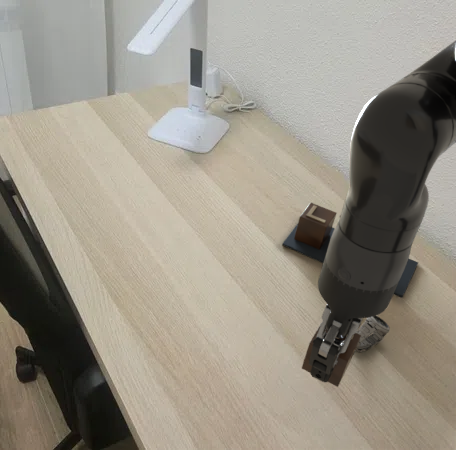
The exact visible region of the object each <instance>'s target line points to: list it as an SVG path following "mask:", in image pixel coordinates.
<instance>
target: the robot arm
mask: <svg viewBox="0 0 456 450" xmlns="http://www.w3.org/2000/svg"><path fill="white" fill-rule="evenodd" d="M455 144H456V40H454V41H453V42H451V43H450V44H448V45H447V46H446V47H445V48H443V49H442V50H440V51H439V52H437V54H435V55H434V56H432V57H430V59H428V60H427V61H425V62H424V63H422V64H421V65H420V66H418V67H417V68H415V69H414V70H412V71H411V72H410V73H408V74H407V75H405V76H404V77H402V78H400V79H399V80H397V81H396V82H394V83H393V84H391V85H390V86H388V87H386V88H384V89H382V90H381V91H379V92H378V93H376V94H375V95H374V96H373V97H371V98H370V100H368V102H366V104H365V105H364V106H363V108H362V110H361V111H360V113H359V115H358V117H357V120H356V121H355V125H354V127H353V130H352V134H351V138H350V143H349V167H348V180H349V188H348V189H347V193H346V196H345V199H344V203H343V206H342V208H341V212H340V215H339V219H338V221H337V224H336V225H335V227H334V228H335V229H334V231H333V234H332V236H331V239H330V242H329V246H328V249H327V253H326V256H325V259H324V263H322V266H321V269H320V273H319V277H318V280H317V289H318V292H319V294H320V296H321V298H322V300H323V301H324V302H325V303H326V305H325V307H324V310H323V312H322V314H321V322H322V323H320V324H321V326H320V325H319V326H320V329H319V331H318V334H317V336H316V339H314V340H313V346H312V351H311V355H310V359H309V365H311V366H312V368H311V371H310V372H309V374H310V375H311V377H312V378H314V379H317V380H318V381H320V382H323V383H329V382H328V380H329V378H330V376H331V373H332V372H333V369H334V366H335V364H336V365H337V363H338V361H337V360H338V357H339V355H340V353H344V352H345V351H346V350H347V348H348V346H349V344H350V341H351V339H352V336H353V334H355V333H356V332H357V331H358V329H359V328H360V327H361V324H362V322H363V319H367V318H369V317H374V316H379V315H381V314H382V313H384V312H385V311H386V310H387V309H388V307H389V306H390V303H391V301H392V298H393V296H394V295H395V294H394V292H395V289H396V287H397V285H398V282H399V280H400V278H401V276H402V273H403V271H404V269H405V266H406V264H407V261H408V259H410V255H411V251H412V246H413V243H414V241H415V238H416V236H417V233H418V232H419V229H420V228H421V224H422V222H423V220H424V217H425V214H426V212H427V209H428V205H429V199H430V197H429V196H430V195H429V189H428V187H427V185H426V182H427V180H428V177H429V174H430V172H431V171H432V169H433V167H434V165H435V163H436V162H437V160H438V159H439V157H441V156H442V155H443V154H444V153H446V151H448V150H449V149H450V148H451V147H452V146H454V145H455ZM326 329H327V332H328V333H326ZM346 335H347V336H346ZM336 337H337V338H339V339H343V338H345V337H346V339H345V340H344V341H342V340H339V339H337V338H336Z"/></svg>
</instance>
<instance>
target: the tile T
mask: <svg viewBox="0 0 456 450" xmlns="http://www.w3.org/2000/svg"><path fill="white" fill-rule="evenodd" d="M321 323H322V321H321ZM321 323H319V326H318V327H317V329H316V331H315V333H314V335H313V336H312V338H311V340H310V341H309V344H308V347H307V350H306V352H305V356H304V359H303V362H302V366H301V369H302V370H304V371H305V372H308V373H310V371H311V368H312V366H311V365H309V359H310V355H311V351H312V346H313V340H314V339H316V336H317V334H318V331H319V329H320V326H321ZM326 333H328V332H327V329H326ZM346 336H347V335H346ZM360 337H361V335H359V334H357V333H355V334H353V336H352V339H351V341H350V344H349V346H348V348H347V350H346V351H345V352H344V353H340V355H339V357H338V360H337V361H338V363H337V365H336V364H335V366H334V369H333V372H332V373H331V376H330V378H329V380H328V382H327V383H329V384H331V385H333V386H335V387H336V388H338V387H339V386H340V384H341V381H342V380H343V377H344V375H345V374H346V371H347V369H348V367H349V366H350V364H351V361H352V359H353V357H354V354H355V352H356V350H355V349H356V347H357V344H358V342H359V340H360ZM336 338H337V337H336ZM337 339H339V338H337ZM345 339H346V337H345V338H343V339H339V340H342V341H344V340H345Z"/></svg>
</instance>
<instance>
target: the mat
mask: <svg viewBox="0 0 456 450" xmlns="http://www.w3.org/2000/svg"><path fill="white" fill-rule="evenodd" d="M297 226H298V223H296V225H295V226H294V227H293V229H292V230H291V232H290V233H289V234H288V236H287V237H286V238H285V239H284V241H283V242H282V243H281V245H282V246H283V247H285V248H287V249H289V250H292V251H294V252H296V253H299V254H301V255H304V256H306V257H307V258H310V259H313V260H315V261H317V262H319V263H322V264H323V263H324V259H325V256H326V253H327V249H328V246H329V242H330V239H331V236H332V234H333V231H334V229H335V227H333V226H332V229H331V232H330V235H329V237H328V238H327V240H326V241H325V243H324V244H323V246H322V247H321V249H320V250H319V249H317V248H314V247H312V246H310V245H307V244H305V243H303V242H300V241H298V240H296V239H294V237H295V233H296V229H297ZM418 265H419V262H418V261H416V260H413V259H411V258H409V259H408V261H407V264H406V266H405V269H404V271H403V273H402V276H401V278H400V280H399V282H398V285H397V287H396V289H395V292H394V294H393V295H395V296H397V297H400V298H404V295H405V293H406V291H407V288H408V286H409V284H410V282H411V280H412V277H413V275H414V274H415V271H416V269H417V267H418Z"/></svg>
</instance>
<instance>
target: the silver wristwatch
mask: <svg viewBox="0 0 456 450" xmlns="http://www.w3.org/2000/svg"><path fill="white" fill-rule="evenodd" d="M390 331H391V328H390V326H389V324H388V323H387V322H386V321H385V320H384V319H382V318H381V317H380V316H379V315H376V316H374V317H369V318H365V321H364V322H363V323H362V325H360V326H359V328H358V330H357V332H356V333H357V334H359V335H361V337H360V340H359V342H358V344H357V347H356V349H355V351H356V352H358V353H362V352H364V351H368V350H370V349H371V348H373V347H374V346H376V345H377V344H379V343H380V342H382V340H384V338H385V337H386V335H387V334H388V333H389V332H390Z"/></svg>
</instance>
